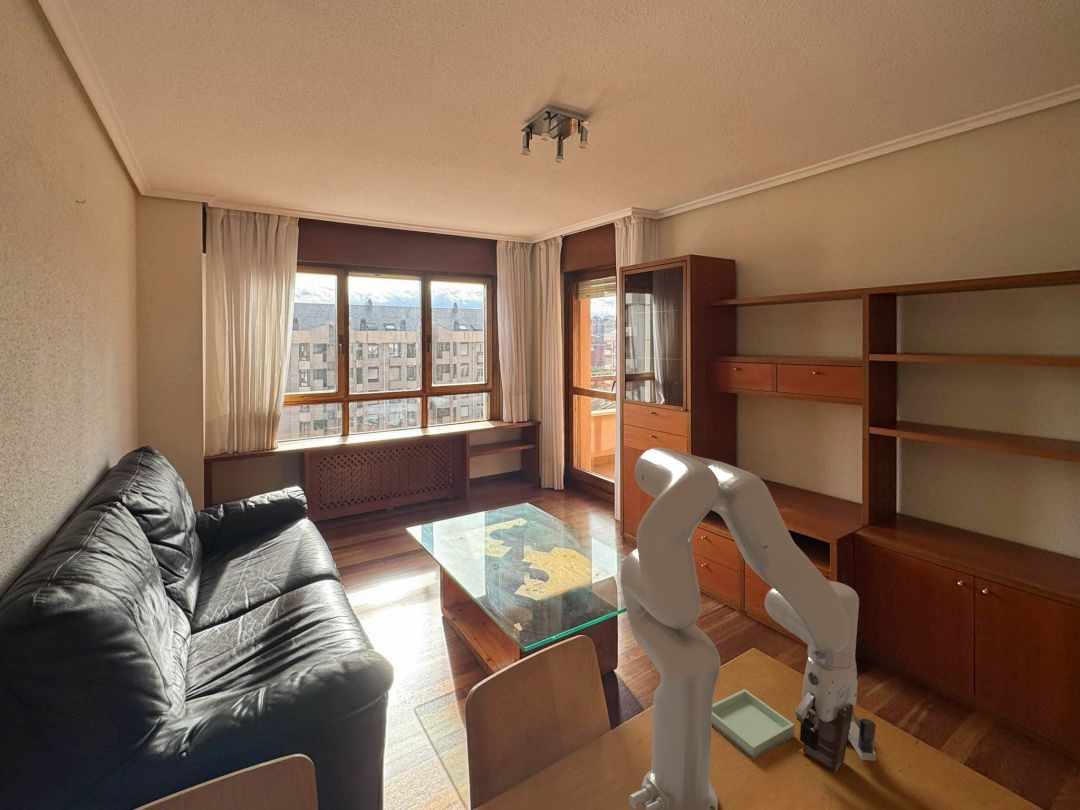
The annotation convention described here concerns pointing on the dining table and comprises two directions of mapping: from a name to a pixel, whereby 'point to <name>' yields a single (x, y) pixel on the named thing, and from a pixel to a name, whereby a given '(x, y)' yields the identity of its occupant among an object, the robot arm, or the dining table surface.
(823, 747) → the box
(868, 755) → the crank
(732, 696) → the tray
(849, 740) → the crank base
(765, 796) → the dining table surface
